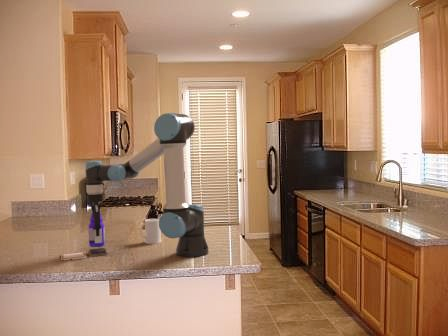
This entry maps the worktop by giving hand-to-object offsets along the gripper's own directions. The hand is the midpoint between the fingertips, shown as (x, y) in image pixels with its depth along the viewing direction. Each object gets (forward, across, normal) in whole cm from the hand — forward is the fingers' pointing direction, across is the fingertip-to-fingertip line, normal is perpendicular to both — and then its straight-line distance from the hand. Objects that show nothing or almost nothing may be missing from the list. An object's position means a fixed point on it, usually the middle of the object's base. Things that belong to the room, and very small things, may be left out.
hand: (97, 241), depth 218 cm
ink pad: (+6, 0, 0) cm, 6 cm away
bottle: (+3, 0, 0) cm, 3 cm away
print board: (+6, 0, +11) cm, 12 cm away
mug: (+6, +12, -28) cm, 31 cm away
